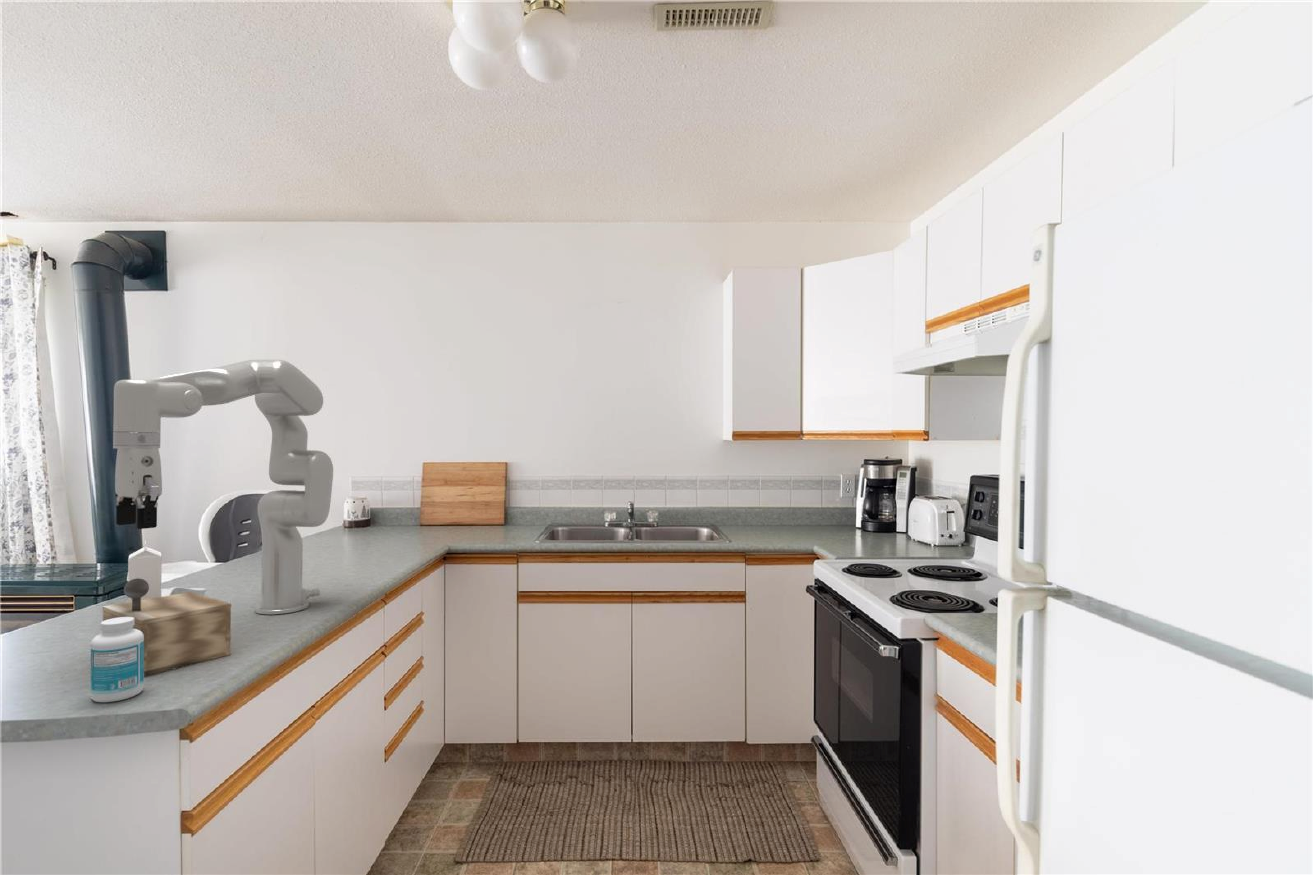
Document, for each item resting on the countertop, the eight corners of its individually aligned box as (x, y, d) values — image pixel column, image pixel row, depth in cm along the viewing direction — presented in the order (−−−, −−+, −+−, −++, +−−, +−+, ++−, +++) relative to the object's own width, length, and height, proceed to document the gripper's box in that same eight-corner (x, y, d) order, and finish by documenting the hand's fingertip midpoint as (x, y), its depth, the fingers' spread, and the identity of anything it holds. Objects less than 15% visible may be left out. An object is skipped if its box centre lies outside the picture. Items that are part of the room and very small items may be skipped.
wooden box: (190, 640, 151) (190, 595, 151) (230, 654, 141) (230, 607, 141) (102, 659, 137) (103, 611, 137) (140, 677, 128) (140, 625, 128)
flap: (190, 595, 151) (190, 563, 151) (231, 607, 141) (231, 572, 141) (102, 610, 137) (102, 575, 137) (141, 625, 128) (141, 586, 128)
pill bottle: (110, 688, 122) (111, 614, 122) (153, 687, 123) (154, 614, 123) (79, 704, 115) (79, 626, 115) (124, 703, 115) (125, 625, 115)
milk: (127, 644, 148) (127, 544, 148) (128, 637, 153) (128, 541, 152) (161, 639, 151) (161, 542, 151) (161, 632, 156) (161, 538, 156)
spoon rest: (160, 602, 185) (160, 576, 185) (210, 598, 190) (210, 573, 190) (131, 624, 163) (131, 595, 163) (188, 619, 168) (188, 591, 168)
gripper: (178, 441, 133) (177, 527, 133) (140, 441, 142) (139, 521, 142) (133, 441, 127) (132, 531, 127) (97, 440, 136) (96, 524, 136)
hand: (136, 526), depth 134 cm, fingers open, 9 cm apart
